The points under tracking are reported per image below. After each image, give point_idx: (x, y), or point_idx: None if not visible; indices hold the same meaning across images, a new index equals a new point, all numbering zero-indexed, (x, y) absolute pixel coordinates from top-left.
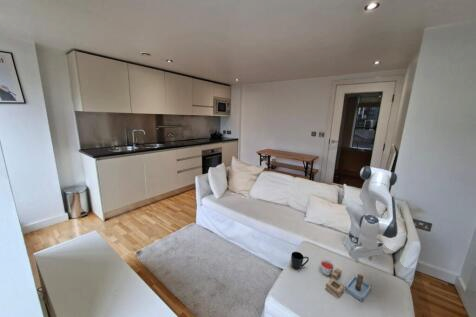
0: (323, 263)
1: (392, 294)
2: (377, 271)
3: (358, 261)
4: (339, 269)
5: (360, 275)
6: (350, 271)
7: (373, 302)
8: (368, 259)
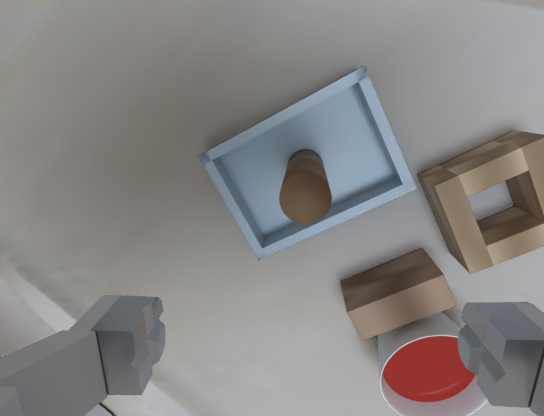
0: (436, 392)
1: (78, 85)
2: (46, 263)
3: (526, 331)
4: (358, 322)
5: (299, 207)
6: (236, 299)
7: (270, 51)
8: (164, 333)
